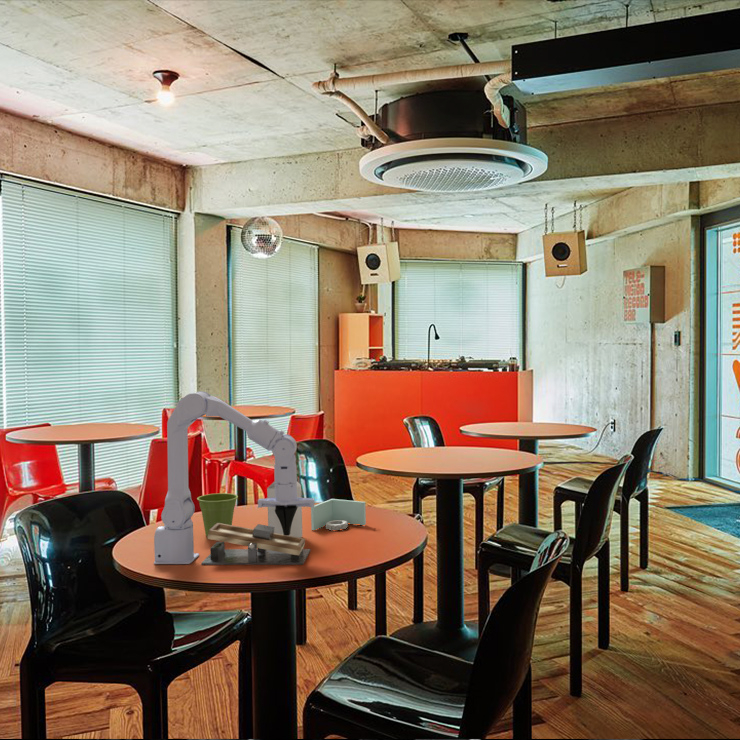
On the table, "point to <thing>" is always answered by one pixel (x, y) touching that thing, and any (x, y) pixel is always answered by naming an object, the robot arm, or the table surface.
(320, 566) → the table surface
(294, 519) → the milk carton
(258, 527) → the block
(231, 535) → the beam
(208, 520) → the plant pot
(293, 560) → the beam stand
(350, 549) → the table surface
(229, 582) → the table surface
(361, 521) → the right angle wall
